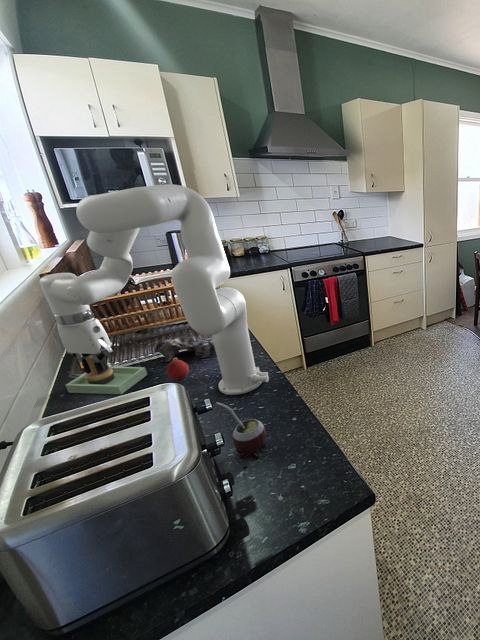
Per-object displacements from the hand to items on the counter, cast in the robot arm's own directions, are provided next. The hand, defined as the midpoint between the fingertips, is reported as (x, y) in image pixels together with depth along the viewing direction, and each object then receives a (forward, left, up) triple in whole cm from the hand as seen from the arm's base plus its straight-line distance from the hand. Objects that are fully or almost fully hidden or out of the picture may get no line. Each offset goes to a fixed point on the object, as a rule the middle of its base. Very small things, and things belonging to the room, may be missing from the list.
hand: (97, 370), depth 106 cm
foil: (-16, -18, -5) cm, 25 cm away
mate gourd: (-58, +26, -5) cm, 64 cm away
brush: (0, 0, -3) cm, 3 cm away
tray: (-2, 0, -5) cm, 5 cm away
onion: (-22, -3, -5) cm, 23 cm away
